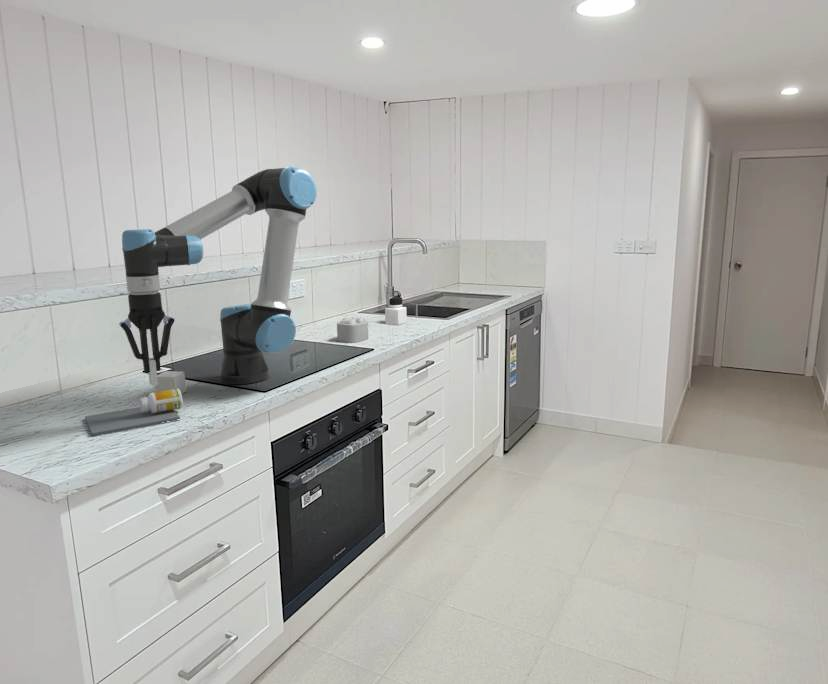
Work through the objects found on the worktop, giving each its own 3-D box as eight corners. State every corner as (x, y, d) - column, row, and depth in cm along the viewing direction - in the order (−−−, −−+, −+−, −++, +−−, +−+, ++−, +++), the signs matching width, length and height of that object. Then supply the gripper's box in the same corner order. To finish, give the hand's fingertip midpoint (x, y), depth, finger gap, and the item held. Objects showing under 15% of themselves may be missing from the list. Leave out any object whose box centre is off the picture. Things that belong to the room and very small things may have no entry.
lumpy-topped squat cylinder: (334, 341, 251) (333, 319, 249) (354, 335, 261) (353, 314, 259) (354, 343, 245) (353, 321, 243) (374, 337, 255) (374, 316, 254)
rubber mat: (166, 405, 173) (166, 402, 172) (180, 420, 160) (179, 417, 160) (85, 419, 162) (84, 416, 162) (92, 436, 150) (92, 433, 149)
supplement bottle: (176, 388, 169) (137, 395, 164) (180, 387, 164) (141, 394, 159) (179, 408, 169) (140, 415, 164) (184, 408, 164) (144, 415, 159)
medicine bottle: (407, 322, 286) (406, 296, 283) (398, 325, 280) (397, 298, 278) (393, 321, 290) (393, 295, 287) (385, 324, 284) (384, 297, 281)
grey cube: (156, 397, 181) (154, 376, 179) (167, 390, 186) (165, 371, 185) (176, 397, 180) (173, 377, 178) (186, 391, 186) (184, 371, 184)
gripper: (118, 296, 151) (129, 391, 156) (175, 291, 158) (183, 383, 163) (113, 293, 157) (123, 384, 162) (168, 288, 164) (176, 376, 169)
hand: (153, 383), depth 162 cm, fingers closed
